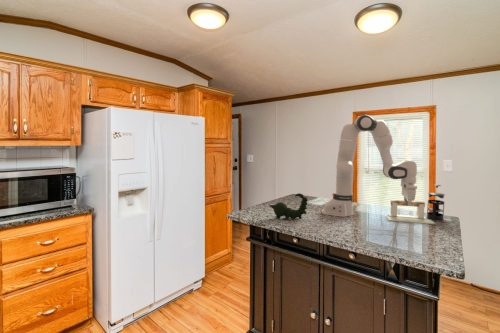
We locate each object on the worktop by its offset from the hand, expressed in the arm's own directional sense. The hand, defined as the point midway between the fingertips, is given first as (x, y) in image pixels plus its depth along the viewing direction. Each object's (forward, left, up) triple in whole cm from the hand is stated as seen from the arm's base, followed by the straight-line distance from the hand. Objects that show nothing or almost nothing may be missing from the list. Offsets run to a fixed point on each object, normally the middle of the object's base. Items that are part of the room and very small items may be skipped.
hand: (407, 204), depth 181 cm
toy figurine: (-77, -27, -9) cm, 82 cm away
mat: (0, -9, -9) cm, 13 cm away
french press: (+17, +1, -9) cm, 19 cm away
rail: (0, 0, -1) cm, 1 cm away
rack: (0, 0, -9) cm, 9 cm away
